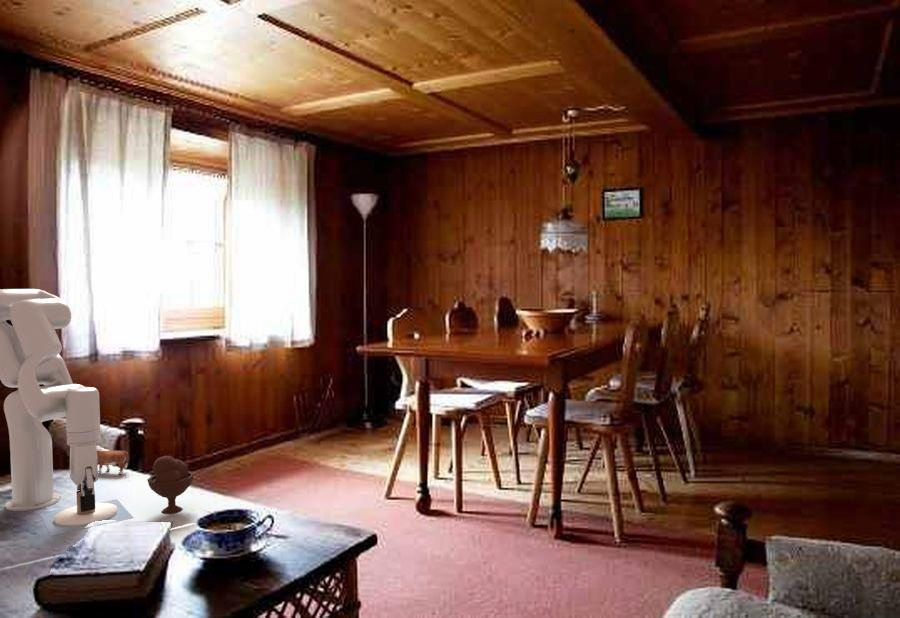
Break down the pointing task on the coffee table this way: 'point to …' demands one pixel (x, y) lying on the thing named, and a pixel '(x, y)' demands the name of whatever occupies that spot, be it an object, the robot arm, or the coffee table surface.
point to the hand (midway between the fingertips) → (86, 507)
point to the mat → (57, 529)
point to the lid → (84, 514)
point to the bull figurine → (111, 458)
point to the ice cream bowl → (170, 481)
